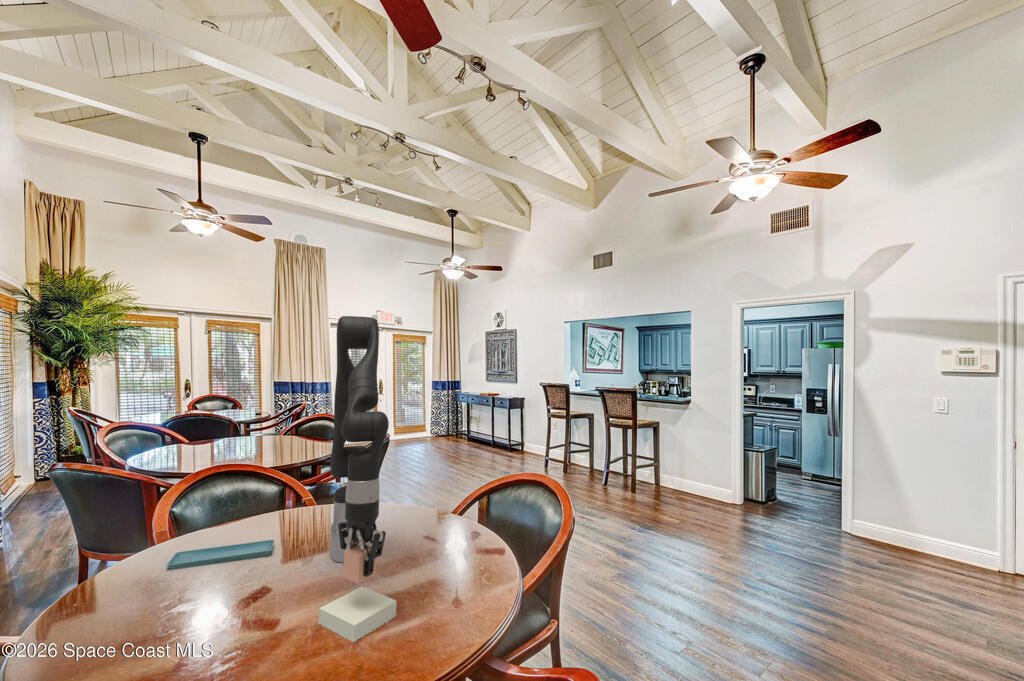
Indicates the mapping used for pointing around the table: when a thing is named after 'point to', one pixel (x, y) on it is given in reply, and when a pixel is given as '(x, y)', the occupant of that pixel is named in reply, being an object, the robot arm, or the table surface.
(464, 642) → the table surface
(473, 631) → the table surface
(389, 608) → the sage base block
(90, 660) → the table surface
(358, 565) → the terracotta block
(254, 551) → the teal serving tray
